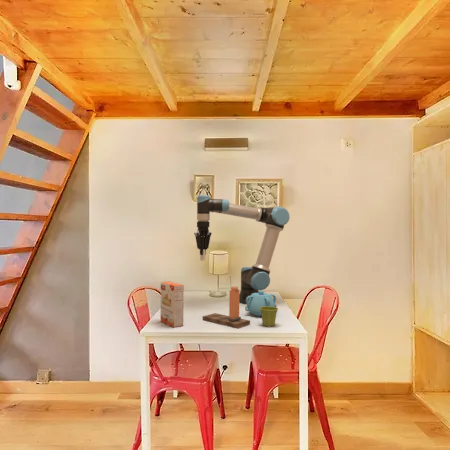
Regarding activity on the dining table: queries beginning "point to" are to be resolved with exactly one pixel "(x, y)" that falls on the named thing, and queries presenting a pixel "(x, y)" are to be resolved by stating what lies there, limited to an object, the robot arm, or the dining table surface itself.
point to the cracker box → (172, 303)
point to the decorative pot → (259, 302)
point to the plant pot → (268, 315)
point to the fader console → (226, 320)
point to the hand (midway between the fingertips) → (202, 260)
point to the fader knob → (234, 304)
